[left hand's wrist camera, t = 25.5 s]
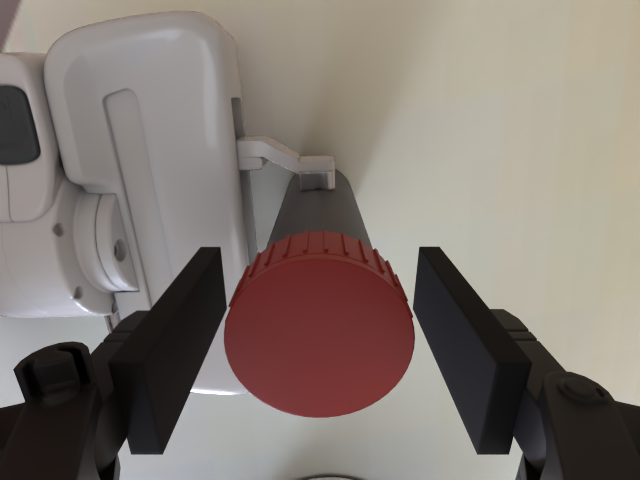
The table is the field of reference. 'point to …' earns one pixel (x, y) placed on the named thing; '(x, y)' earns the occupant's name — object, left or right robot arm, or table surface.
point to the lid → (319, 326)
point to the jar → (319, 212)
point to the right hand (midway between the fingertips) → (335, 226)
